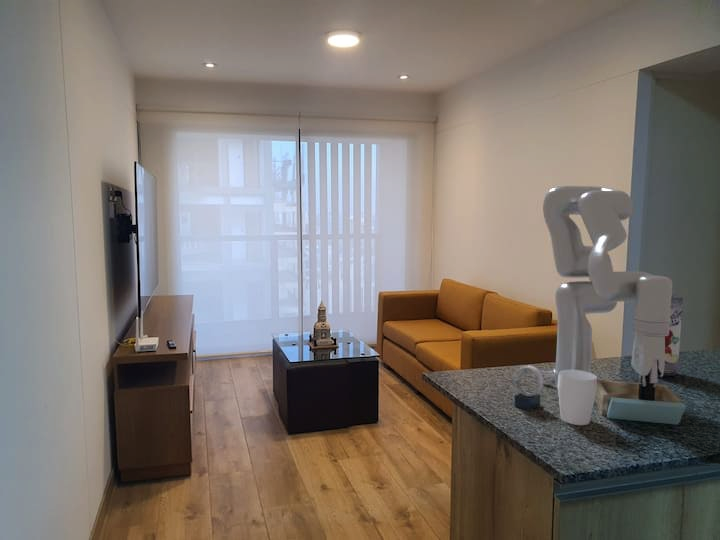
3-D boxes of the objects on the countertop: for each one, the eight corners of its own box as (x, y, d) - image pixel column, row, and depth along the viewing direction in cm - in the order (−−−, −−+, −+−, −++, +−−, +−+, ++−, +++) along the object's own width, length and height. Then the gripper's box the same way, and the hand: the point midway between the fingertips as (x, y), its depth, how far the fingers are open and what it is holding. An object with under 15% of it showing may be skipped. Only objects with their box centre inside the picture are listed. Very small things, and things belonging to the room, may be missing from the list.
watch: (519, 399, 148) (521, 361, 147) (546, 407, 142) (548, 367, 141) (508, 404, 144) (509, 364, 143) (534, 412, 138) (536, 371, 137)
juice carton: (634, 367, 178) (639, 288, 175) (667, 369, 177) (673, 289, 174) (644, 376, 170) (650, 292, 167) (680, 377, 168) (686, 293, 165)
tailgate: (607, 418, 134) (612, 401, 129) (606, 414, 134) (611, 397, 130) (678, 424, 130) (685, 407, 125) (676, 420, 131) (684, 403, 126)
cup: (591, 431, 126) (594, 383, 125) (552, 423, 131) (554, 376, 130) (597, 419, 134) (600, 373, 133) (559, 412, 139) (562, 367, 137)
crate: (601, 417, 135) (602, 394, 135) (592, 400, 147) (593, 379, 147) (680, 424, 131) (682, 401, 130) (664, 406, 143) (666, 385, 142)
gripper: (626, 320, 135) (621, 390, 137) (642, 333, 121) (637, 410, 123) (658, 321, 134) (653, 392, 136) (679, 335, 119) (673, 414, 121)
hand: (646, 401), depth 129 cm, fingers closed
